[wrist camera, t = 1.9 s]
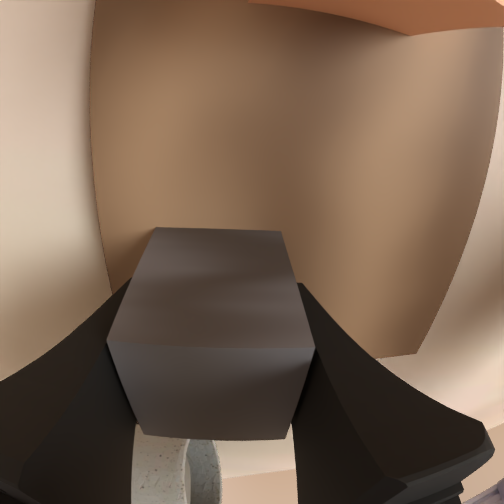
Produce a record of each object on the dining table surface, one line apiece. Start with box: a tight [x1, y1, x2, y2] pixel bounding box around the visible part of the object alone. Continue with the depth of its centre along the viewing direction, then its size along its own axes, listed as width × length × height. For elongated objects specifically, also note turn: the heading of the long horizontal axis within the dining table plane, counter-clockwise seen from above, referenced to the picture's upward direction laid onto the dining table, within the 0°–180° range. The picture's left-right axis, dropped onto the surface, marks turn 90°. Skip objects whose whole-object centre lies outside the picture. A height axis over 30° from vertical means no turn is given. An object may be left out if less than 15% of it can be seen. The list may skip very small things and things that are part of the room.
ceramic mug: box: [131, 424, 222, 504], centre depth 16 cm, size 11×8×8 cm
